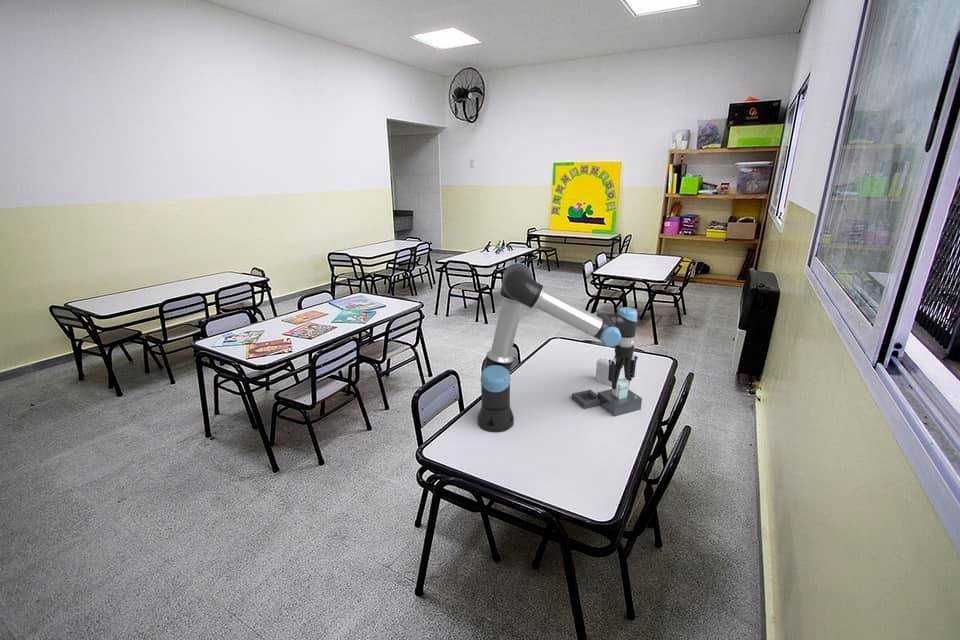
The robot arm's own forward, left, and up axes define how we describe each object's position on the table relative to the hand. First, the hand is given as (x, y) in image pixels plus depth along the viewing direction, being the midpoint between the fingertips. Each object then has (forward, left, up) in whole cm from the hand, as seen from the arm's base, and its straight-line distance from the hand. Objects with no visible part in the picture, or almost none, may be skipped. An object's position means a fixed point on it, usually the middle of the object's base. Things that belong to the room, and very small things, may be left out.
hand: (619, 393), depth 189 cm
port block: (0, 0, -7) cm, 7 cm away
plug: (0, 0, -3) cm, 3 cm away
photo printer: (+9, +21, -7) cm, 24 cm away
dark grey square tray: (-10, +9, -7) cm, 15 cm away
